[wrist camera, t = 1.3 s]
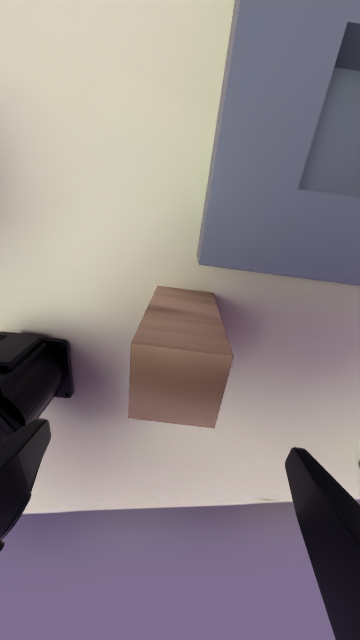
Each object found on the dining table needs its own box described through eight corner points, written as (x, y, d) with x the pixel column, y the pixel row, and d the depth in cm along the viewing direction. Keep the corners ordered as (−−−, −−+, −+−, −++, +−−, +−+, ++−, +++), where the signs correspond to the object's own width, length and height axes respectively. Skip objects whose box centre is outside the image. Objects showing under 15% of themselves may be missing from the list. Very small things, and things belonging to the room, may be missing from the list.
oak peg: (203, 341, 20) (214, 428, 12) (153, 335, 20) (128, 418, 12) (213, 293, 18) (233, 356, 10) (157, 285, 18) (131, 343, 10)
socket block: (392, 281, 17) (440, 296, 14) (196, 255, 17) (198, 264, 13) (553, -23, 11) (712, -127, 8) (245, -72, 10) (271, -203, 7)
